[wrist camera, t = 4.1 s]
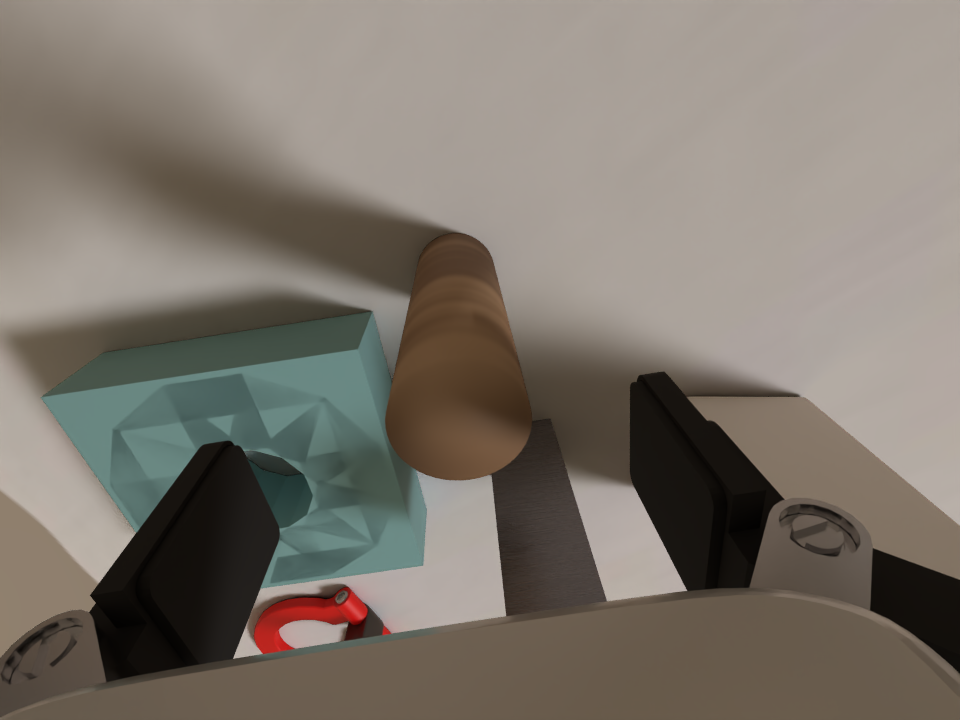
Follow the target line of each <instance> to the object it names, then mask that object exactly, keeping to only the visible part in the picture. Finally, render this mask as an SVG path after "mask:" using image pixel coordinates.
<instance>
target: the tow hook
mask: <svg viewBox="0 0 960 720" xmlns="http://www.w3.org/2000/svg"><path fill="white" fill-rule="evenodd" d="M298 620H318V621H323V622H327V623H330V624H333V625H337V624H340V623H343V622H347V621H349V623H348V627H347V631H346V635H345V640H344V641H348V640H355V639H361V638H368V637H374V636H381V635H387V634H391V633H390V631H389V630H388V629H387V628H386V627H385V626H384V624H383V622H382V620H381V619H380V618H379V617H378V616H377V615H376V614H375V613H374V612H373V611H372V610H371V608H370V607H369V606H367V605H365V604H364V603H363V602H362V601H361V600H360V599H359V598H358V597H357V596H356V595H355V594H354V593H353V592H352V590H351V589H350V588H348V587H345V588H342V589H341V590H339V591H338V592H337V593H336V594H335V596H334V597H333V598H330V599H321V598H303V597H302V598H295V599H288V600H285V601H282V602H279V603H276V604H274V605H272V606H271V607H269V608H268V609H266V610H265V611H264V612H263V614H262V615H261V616H260V618H259V619H258V622H257V624H256V627H255V632H254V639H255V642H256V645H257V647H258V648H259V649H260V651H261V652H262V653H263V654H267V653H273V652H279V651H286V650H292V649H294V648H292V647H290V646H289V645H288V644H287V643H285V642H284V641H283V639H282V638H281V637H280V634H279V629H280V628H281V627H282V626H284V625H285V624H287V623H290V622H293V621H298Z"/></svg>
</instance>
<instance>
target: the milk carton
mask: <svg viewBox="0 0 960 720" xmlns="http://www.w3.org/2000/svg"><path fill="white" fill-rule="evenodd" d="M687 398H688V399H689V400H690V402H691V403H692V404H693V405H694V406H695V407H696V408H697V410H698V411H699V412H700V413H701V414H702V415H703V417H704V418H705V419H706V420H707V421H709V420H711V421H714V422H716V423H717V424H718V425H719V426H720V427H721V428H722V429H723V430H724V432H725V433H726V434H727V435H728V436H729V437H730V438H731V440H732V441H733V442H734V443H735V444H736V445H737V446H738V447H739V449H740V450H741V451H742V452H743V453H744V454H745V455H746V456H747V458H748V459H749V460H750V461H751V462H752V463H753V464H754V465H755V467H756V468H757V469H758V470H759V471H760V472H761V473H762V474H763V476H764V477H765V478H766V479H767V480H768V481H769V482H770V483H771V485H772V486H773V487H774V488H775V489H776V490H777V491H778V493H779V494H780V495H781V496H782V497H783V498H784V499H785V500H786V499H791V498H810V499H815V500H820V501H824V502H827V503H829V504H832V505H835V506H837V507H839V508H841V509H843V510H844V511H846V512H848V513H850V514H851V515H853V516H854V517H855V518H856V519H857V520H858V521H860V522H861V523H862V524H863V525H864V527H865V528H866V530H867V531H868V532H869V534H870V536H871V540H872V545H873V548H874V549H877V550H880V551H882V552H885V553H888V554H891V555H893V556H896V557H899V558H902V559H904V560H907V561H910V562H913V563H915V564H918V565H921V566H924V567H926V568H929V569H932V570H935V571H937V572H940V573H943V574H946V575H948V576H951V577H954V578H957V579H959V580H960V526H959V525H958V524H957V523H956V522H954V521H953V520H952V519H951V518H950V517H948V516H947V515H946V514H945V513H944V512H942V511H941V510H940V509H939V508H938V507H936V506H935V505H934V504H933V503H932V502H930V501H929V500H928V499H927V498H926V497H924V496H923V495H922V494H921V493H920V492H918V491H917V490H916V489H915V488H914V487H912V486H911V485H910V484H909V483H908V482H906V481H905V480H904V479H903V478H902V477H900V476H899V475H898V474H897V473H896V472H894V471H893V470H892V469H891V468H890V467H888V466H887V465H886V464H885V463H884V462H882V461H881V460H880V459H879V458H878V457H876V456H875V455H874V454H873V453H872V452H870V451H869V450H868V449H867V448H866V447H864V446H863V445H862V444H861V443H860V442H858V441H857V440H856V439H855V438H854V437H852V436H851V435H850V434H849V433H848V432H846V431H845V430H844V429H843V428H842V427H840V426H839V425H838V424H837V423H836V422H834V421H833V420H832V419H831V418H830V417H828V416H827V415H826V414H825V413H824V412H822V411H821V410H820V409H819V408H818V407H816V406H815V405H814V404H813V403H812V402H810V401H809V400H808V399H806V398H804V397H687Z"/></svg>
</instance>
